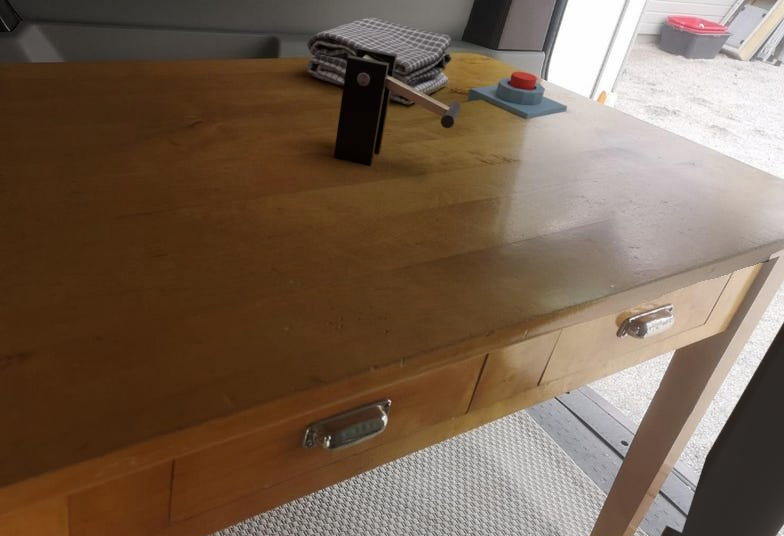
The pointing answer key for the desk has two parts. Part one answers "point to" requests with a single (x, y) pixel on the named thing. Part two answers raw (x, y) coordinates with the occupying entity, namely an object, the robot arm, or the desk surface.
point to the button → (523, 80)
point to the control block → (517, 99)
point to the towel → (413, 48)
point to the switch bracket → (364, 106)
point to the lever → (424, 100)
